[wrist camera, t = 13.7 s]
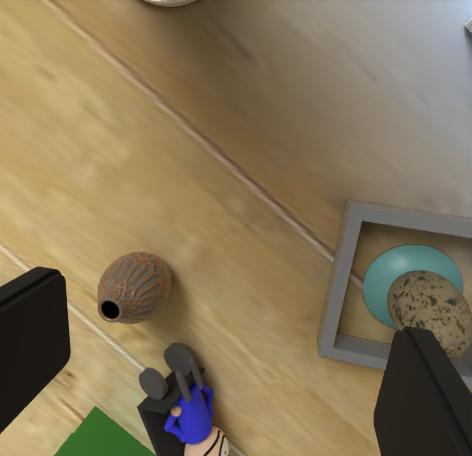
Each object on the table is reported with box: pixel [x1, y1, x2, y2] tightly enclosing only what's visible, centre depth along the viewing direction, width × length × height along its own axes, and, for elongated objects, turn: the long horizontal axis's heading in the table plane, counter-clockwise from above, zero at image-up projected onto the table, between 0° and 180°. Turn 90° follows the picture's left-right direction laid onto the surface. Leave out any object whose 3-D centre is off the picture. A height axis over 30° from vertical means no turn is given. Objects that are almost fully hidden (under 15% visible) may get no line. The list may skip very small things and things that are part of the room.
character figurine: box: [137, 343, 230, 456], centre depth 39 cm, size 8×7×15 cm
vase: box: [98, 252, 172, 324], centre depth 35 cm, size 7×7×9 cm
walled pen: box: [317, 200, 472, 389], centre depth 33 cm, size 15×15×3 cm
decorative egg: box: [387, 270, 472, 357], centre depth 29 cm, size 6×6×10 cm
